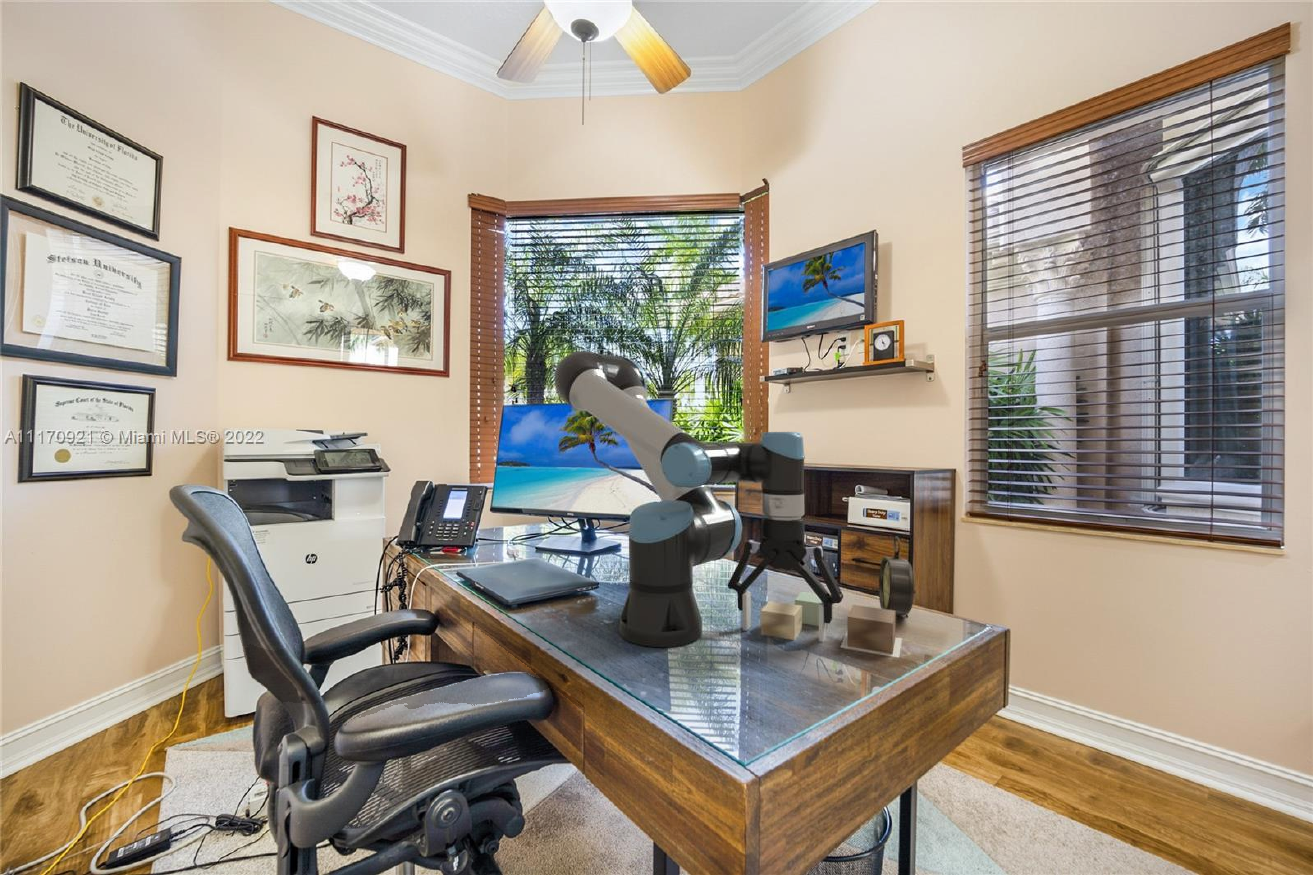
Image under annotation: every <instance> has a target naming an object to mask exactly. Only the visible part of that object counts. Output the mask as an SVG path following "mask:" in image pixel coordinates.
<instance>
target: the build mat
mask: <svg viewBox="0 0 1313 875" xmlns="http://www.w3.org/2000/svg"><path fill="white" fill-rule="evenodd" d="M902 641H903V638H902V637H896V636H895V644H894V650H893V654H889V653H884V652H878V651H872V650H867V649H861V648H855V647H850V646H847V632H846V633H845V636H844V638H843V640H842V642H841V645H840V648H842V649H847V650H851V651H859V652H863V653H870V654H876V655H881V656H886V657H891V658H892V657H893V658H897V659H898V658H900V654H901V649H902Z"/></svg>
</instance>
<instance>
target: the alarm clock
mask: <svg viewBox="0 0 1313 875" xmlns="http://www.w3.org/2000/svg"><path fill="white" fill-rule="evenodd" d="M896 541H897V544H898V548H897V544H896ZM893 544H894V545H893V546H894V555H893V557H891V556H884V557H883V558H882V560H881V563H880V567H879V573H878V574H879V575H878V598H879V605H880V606H879V607H880V609H887V610H894V611H896V621H895V624H898V616H900V617H901V616H903V617H904V616H905V617H906V618H909V613H910V612H911V610H912V607H913V604H914V599H915V598H914V597H915V594H916V590H915V577H914V572H913V568H912V564H911V563H910V562H909V561H908V560H907V559H905V558H903V557H902V558H900V556H899V555H900V551H901V542H900V538H899V537H898V536H894V540H893Z"/></svg>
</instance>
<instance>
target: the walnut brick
mask: <svg viewBox="0 0 1313 875" xmlns="http://www.w3.org/2000/svg"><path fill="white" fill-rule="evenodd" d="M895 621H896V611H894V610H887V609H881V607H878V608H877V607H871V606H864V605H859V604H858V605H857V604H853V605H852V606H851V607H850V610H849V612H848V615H847V630H846V633H847V646H850V647H855V648H861V649H867V650H872V651H878V652H884V653H889V654H893V650H894V644H895V637H896V623H895Z"/></svg>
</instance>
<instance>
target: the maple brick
mask: <svg viewBox="0 0 1313 875" xmlns="http://www.w3.org/2000/svg"><path fill="white" fill-rule="evenodd" d="M802 629H803V623H802V606H801V605H795V603H794V604H793V603H786V602H780V601H779V602H778V601H772V600H769V601H768V603H766V604H765V606H763V608H762V609H761V610H760V635H763V636H768V637H775V638H779V639H780V638H781V639H785V640H791V641H796V639H797V637H798V635H800V632H801V631H802Z"/></svg>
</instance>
